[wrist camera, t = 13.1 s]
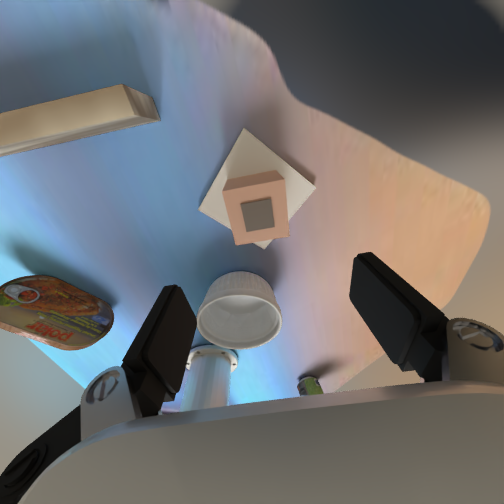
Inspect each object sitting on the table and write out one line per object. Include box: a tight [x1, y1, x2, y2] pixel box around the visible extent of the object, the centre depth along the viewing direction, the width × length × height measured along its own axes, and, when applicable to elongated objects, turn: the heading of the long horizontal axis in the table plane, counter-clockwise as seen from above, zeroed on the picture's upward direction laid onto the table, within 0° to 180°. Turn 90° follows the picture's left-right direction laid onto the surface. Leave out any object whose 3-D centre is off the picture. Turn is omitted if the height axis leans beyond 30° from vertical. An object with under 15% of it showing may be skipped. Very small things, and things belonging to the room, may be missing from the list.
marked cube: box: [222, 170, 290, 246], centre depth 21 cm, size 6×6×6 cm
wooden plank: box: [0, 84, 161, 157], centre depth 18 cm, size 2×22×6 cm, turn 100°
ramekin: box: [196, 271, 282, 349], centre depth 31 cm, size 13×13×7 cm
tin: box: [0, 275, 114, 350], centre depth 29 cm, size 15×3×8 cm, turn 43°
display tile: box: [198, 128, 316, 249], centre depth 24 cm, size 11×11×1 cm
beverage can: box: [297, 377, 324, 397], centre depth 47 cm, size 6×7×12 cm
